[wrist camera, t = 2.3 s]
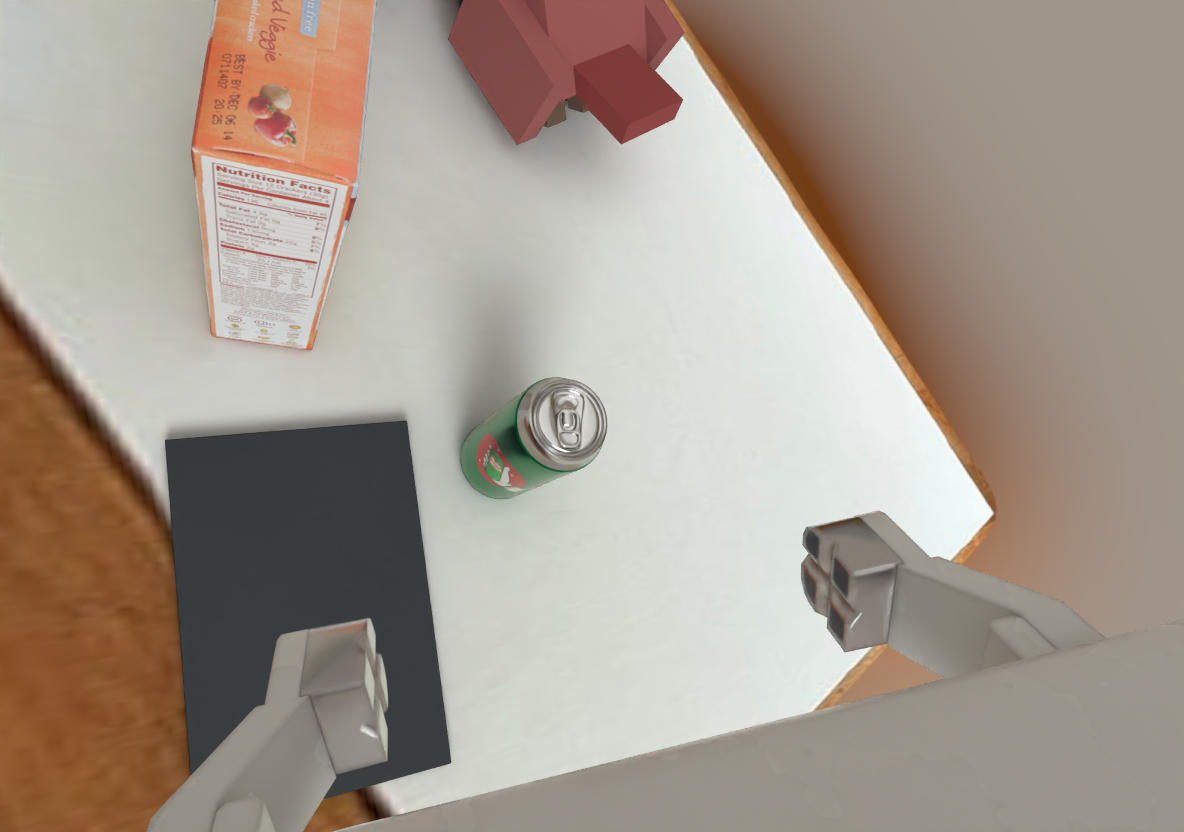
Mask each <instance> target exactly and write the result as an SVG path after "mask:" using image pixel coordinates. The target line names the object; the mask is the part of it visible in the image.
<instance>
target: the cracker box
mask: <svg viewBox="0 0 1184 832" xmlns="http://www.w3.org/2000/svg"><path fill="white" fill-rule="evenodd" d="M376 5H377V0H215V5H214V11H213V18H212V25H211V32H210V37H209V42H208V47H207V53H206V58H205V64H204V70H203V77H202V83H201V89H200V95H199V101H198V107H197V114H196V120H195V126H194V133H193V139H192V147H191V155H192V163H193V170H194V177H195V190H196V199H197V206H198V214H199V222H200V232H201V241H202V251H203V262H204V272H205V281H206V290H207V300H208V310H209V316H210V329H211V334H212V336H214V337H222V338H229V339H235V340H242V341H249V342H256V343H263V344H270V345H278V346H285V347H292V348H300V349H306V350H312V348H313V345H314V341H315V337H316V333H317V330H318V326H319V323H320V319H321V315H322V311H323V308H324V304H325V301H326V297H327V294H328V291H329V287H330V284H331V280H332V277H333V273H334V270H335V266H336V263H337V259H338V256H339V252H340V249H341V246H342V243H343V239H344V236H345V233H346V230H347V226H348V223H349V220H350V217H351V213H352V210H353V206H354V203H355V200H356V196H357V192H358V188H359V177H360V167H361V157H362V147H363V137H364V127H365V118H366V109H367V98H368V87H369V77H370V67H371V57H372V47H373V36H374V26H375V15H376Z"/></svg>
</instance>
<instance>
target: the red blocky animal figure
mask: <svg viewBox="0 0 1184 832" xmlns="http://www.w3.org/2000/svg"><path fill="white" fill-rule="evenodd" d="M684 33H685V32H684V31H683V29H682V28H681V26H680V25H679V23H678V21H677V20H676V18H675V17H674V15H673V14H672V12H671V10H670V9H669V7H668V6H667V4H666V3H665V1H664V0H463V2H462V4H461V7H460V9H459V12H458V15H457V17H456V20H455V22H454V25H453V28H452V30H451V33H450V35H449V38H448V40H449V41H450V43H451V44H452V46H453V47H454V49H455V51H456V52H457V54H458V55H459V57H460V58H461V60H462V61H463V63H464V64H465V66H466V67H467V69H468V70H469V72H470V74H471V75H472V77H473V78H474V80H475V81H476V83H477V84H478V86H479V87H480V89H481V90H482V92H483V93H484V95H485V97H486V98H487V100H488V101H489V103H490V104H491V106H492V107H493V109H494V110H495V112H496V113H497V115H498V117H499V118H500V120H501V121H502V123H503V124H504V126H505V127H506V129H507V130H508V132H509V133H510V135H511V136H512V138H513V140H514V141H515V143H516V144H517V145H518V144H521V143H523V142H525V141H528V140H530V139H532V138H534V137H536V136H537V134H538V133H539V131H540V130H541V128H542V127H543V126H545V127H548V128H549V127H551V126H553V125H556V124H558V123H560V122H562V121H565V120H566V113H565V104H564V100H565V99H567V102H568V108H571V109H574V110H577V111H581V112H585V111H588V110H589V111H590V112H591V113H592V114H593V115H594V116H595V117H596V118H597V119H598V120H599V121H600V122H601V123H602V124H603V126H604V127H605V128H606V129H607V130H608V131H609V132H610V133H611V134H612V135H613V136H614V137H615V138H616V139H617V140H618V141H619V142H620V144H623V143H625V142H627V141H629V140H631V139H634V138H636V137H638V136H640V135H642V134H644V133H646V132H648V131H650V130H652V129H654V128H657V127H659V126H661V125H663V124H665V123H667V122H669V121H671V120H673V119H674V118H675V116H676V114H677V112H678V110H679V108H680V105H681V103H682V101H683V99H682V98H681V97H680V96H679V95H678V94H677V93H676V92H675V91H674V90H673V89H672V88H671V87H670V86H669V85H668V84H667V83H666V82H665V80H664V79H663V78H662V77H661V76H660V75H659V74H658V73H657V72H656V71H655V70H656V69H657V67H658V66H659V65H660V63H661V62H662V61H663V60H664V58H665V57H666V56H667V55H668V53H669V52H670V51H671V49H672V48H673V47H674V46H675V44H676V43H677V42H678V41H679V39H680V38H681V37H682V35H683V34H684Z"/></svg>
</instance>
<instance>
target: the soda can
mask: <svg viewBox="0 0 1184 832" xmlns="http://www.w3.org/2000/svg"><path fill="white" fill-rule="evenodd" d="M606 431H607V416H606V412H605V409H604V406H603V404H602V402H601V401H600V399H599V397H598V396H597V395H596V394H595V392H593V391H592V390H591V389H590V388H589V387H587V386H586V385H585V384H582V383H580V382H578V381H575V380H570V379H566V378H560V377H552V378H546V379H543V380H540V381H538V382H536V383H534V384H533V385H531V386H530V387H529V388H527V389H526V390H525V391H523V392H522V393H521V394H519V395H518V396H517V397H515V398H514V399H513V400H511V401H510V402H509V403H507V404H506V405H505V406H503V407H502V408H501V409H499V410H498V411H497V412H495V413H494V414H493V415H491V416H490V417H489V418H487V419H486V420H485V421H483V422H482V423H481V424H479V425H478V426H477V427H476V428H474V429H473V430H472V431H471V432H470V433H469V434H468V436H467V437H466V439H465V441H464V443H463V446H462V450H461V466H462V470H463V473H464V475H465V477H466V479H467V480H468V482H469V483H470V484H471V486H472V487H473V488H474V489H476V490H477V491H478V492H480V493H481V494H483V495H485V496H487V497H491V498H495V499H507V498H511V497H514V496H516V495H519V494H521V493H524V492H526V491H529V490H531V489H533V488H536V487H538V486H541V485H543V484H545V483H548V482H550V481H553V480H555V479H558V478H560V477H562V476H565V475H567V474H570V473H572V472H575V471H577V470H579V469H582V468H584V467H585V466H587V465H588V464H590V463H591V462H592V461H593V460H594V459H595V457H596V456H597V455H598V453H599V451H600V449H601V447H602V445H603V441H604V439H605V436H606Z"/></svg>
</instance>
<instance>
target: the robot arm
mask: <svg viewBox="0 0 1184 832" xmlns="http://www.w3.org/2000/svg"><path fill="white" fill-rule="evenodd" d="M802 545H803V546H804V548H805V549H806V550H807V552H808V553H809V554H808V555H807V557H806V558H805V560H804V561H803V562H802V564H801V581H802V585H803V589H804V593H805V595H806V597H807V600H808V602H809V603H810V605H811V606H812V608H813V609H814V611H815V612H817V613H819V614H821V615H823V616H825V617H828V619H827V629H828V630H829V631H830V633H831V634H832V636H833V637H834V638H835V640H836V641H837V642H838V644H839V645H840V646H841V648H842V649H843V651H844V652H849V651H854V650H858V649H863V648H868V647H873V646H878V645H882V644H887V643H888V645H887V646H889V647H891V648H892V649H894V650H896V651H897V652H899V653H901V654H903V655H905V656H906V657H908V658H910V659H911V660H913V661H915V662H916V663H918V664H920V665H922V666H923V667H925V668H927V669H928V670H930V671H932V672H933V673H935V674H937V675H938V676H940V677H942V678H944V679H942V680H937V681H934V682H930V683H926V684H922V685H918V686H914V687H910V688H906V689H902V690H898V691H894V692H890V693H886V694H882V695H878V696H874V697H870V698H866V699H862V700H858V701H854V702H850V703H846V704H842V705H838V706H834V707H830V708H825V709H821V710H817V711H813V712H809V713H805V714H801V715H797V716H793V717H789V718H785V719H781V720H777V721H773V722H769V723H765V724H761V725H757V726H753V727H749V728H745V729H741V730H737V731H733V732H729V733H725V734H721V735H717V736H713V737H709V738H705V739H701V740H697V741H693V742H689V743H685V744H681V745H677V746H673V747H669V748H665V749H661V750H657V751H653V752H649V753H645V754H641V755H637V756H633V757H629V758H625V759H621V760H617V761H613V762H609V763H605V764H601V765H597V766H593V767H589V768H585V769H581V770H577V771H573V772H569V773H565V774H561V775H557V776H553V777H549V778H545V779H541V780H537V781H533V782H529V783H525V784H521V785H517V786H513V787H509V788H505V789H501V790H497V791H493V792H489V793H485V794H481V795H477V796H473V797H469V798H465V799H461V800H457V801H453V802H449V803H445V804H441V805H436V806H432V807H428V808H424V809H420V810H416V811H412V812H408V813H404V814H400V815H396V816H392V817H388V818H384V819H380V820H376V821H372V822H368V823H364V824H360V825H356V826H352V827H348V828H344V829H340V830H336V831H332V832H1184V619H1182V620H1178V621H1174V622H1171V623H1166V624H1162V625H1158V626H1154V627H1150V628H1146V629H1143V630H1138V631H1134V632H1130V633H1126V634H1123V635H1118V636H1114V637H1110V638H1105V637H1104V636H1103V635H1102V634H1101V633H1099V632H1098V631H1097V630H1096V629H1095V628H1094V627H1093V626H1091V625H1090V624H1089V623H1088V622H1087V621H1085V620H1084V619H1083V618H1082V617H1081V616H1080V615H1079V614H1077V613H1076V612H1075V611H1074V610H1073V609H1072V608H1070V607H1069V606H1068V605H1067V604H1066V603H1065V602H1063V601H1060V600H1058V599H1055V598H1052V597H1049V596H1047V595H1044V594H1041V593H1038V592H1035V591H1033V590H1030V589H1027V588H1024V587H1021V586H1018V585H1015V584H1013V583H1010V582H1008V581H1005V580H1002V579H999V578H996V577H994V576H991V575H988V574H985V573H982V572H980V571H977V570H974V569H971V568H969V567H966V566H963V565H960V564H957V563H955V562H952V561H949V560H946V559H943V558H941V557H933V558H930V557H929V556H928V555H927V554H926V553H925V552H924V551H923V550H922V549H921V548H920V547H919V546H918V545H917V544H916V543H915V542H914V541H913V540H912V539H911V538H910V537H909V536H908V535H907V534H906V533H905V532H904V531H903V530H902V529H901V528H900V527H899V526H897V525H896V524H895V523H894V522H893V521H892V520H891V519H890V518H889V517H888V516H887V515H886V514H885V513H884V512H881V511H875V512H870V513H866V514H862V515H857V516H854V517H852V518H847V519H842V520H838V521H833V522H828V523H824V524H819V525H814V526H810V527H806V529H805V531H804V533H803V544H802ZM375 647H376V634H375V631H374V628H373V624H372V621H371V620H370V618H364V619H359V620H353V621H348V622H342V623H337V624H332V625H326V626H321V627H315V628H311V629H306V630H301V631H296V632H291V633H286V634H281V635H280V637H279V638H278V640H277V643H276V648H275V653H274V658H273V663H272V668H271V673H270V678H269V684H268V689H267V694H266V699H265V704H264V705H261V706H257V707H255V708H254V709H253V710H252V711H251V712H250V713H249V714H248V715H247V717H246V718H245V719H244V720H243V721H242V722H241V723H240V724H239V725H238V726H237V727H236V728H235V729H234V730H233V731H232V732H231V734H230V735H229V736H228V737H227V738H226V739H225V740H224V741H223V742H222V743H221V744H220V745H219V746H218V747H217V748H216V749H215V751H214V752H213V753H212V754H211V755H210V756H209V757H208V758H207V759H206V760H205V761H204V762H203V763H202V764H201V765H200V766H199V767H198V769H197V770H196V771H195V772H194V773H193V774H192V775H191V776H190V777H189V778H188V779H187V780H186V781H185V782H184V783H183V784H182V786H181V787H180V788H179V789H178V790H177V791H176V792H175V793H174V794H173V795H172V796H171V797H170V798H169V799H168V800H167V801H166V803H165V804H164V805H163V806H162V807H161V808H160V809H159V810H158V811H157V812H156V813H155V814H154V815H153V816H152V817H151V820H150V823H149V826H148V829H147V832H303V830H304V829H305V827H306V826H307V824H308V822H309V821H310V819H311V817H312V816H313V814H314V813H315V811H316V809H317V808H318V806H319V804H320V803H321V801H322V800H323V798H324V796H325V795H326V793H327V792H328V790H329V788H330V787H331V785H332V783H333V782H334V780H335V779H336V776H335V775H336V774H340V773H344V772H348V771H351V770H355V769H359V768H363V767H366V766H370V765H374V764H378V763H381V762H385V761H387V744H388V728H387V725H386V721H385V717H384V713H385V712H386V710H387V709H388V692H387V681H386V674H385V669H384V664H383V660H382V656H381V654H380V653H378V652H377V651H375Z"/></svg>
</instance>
